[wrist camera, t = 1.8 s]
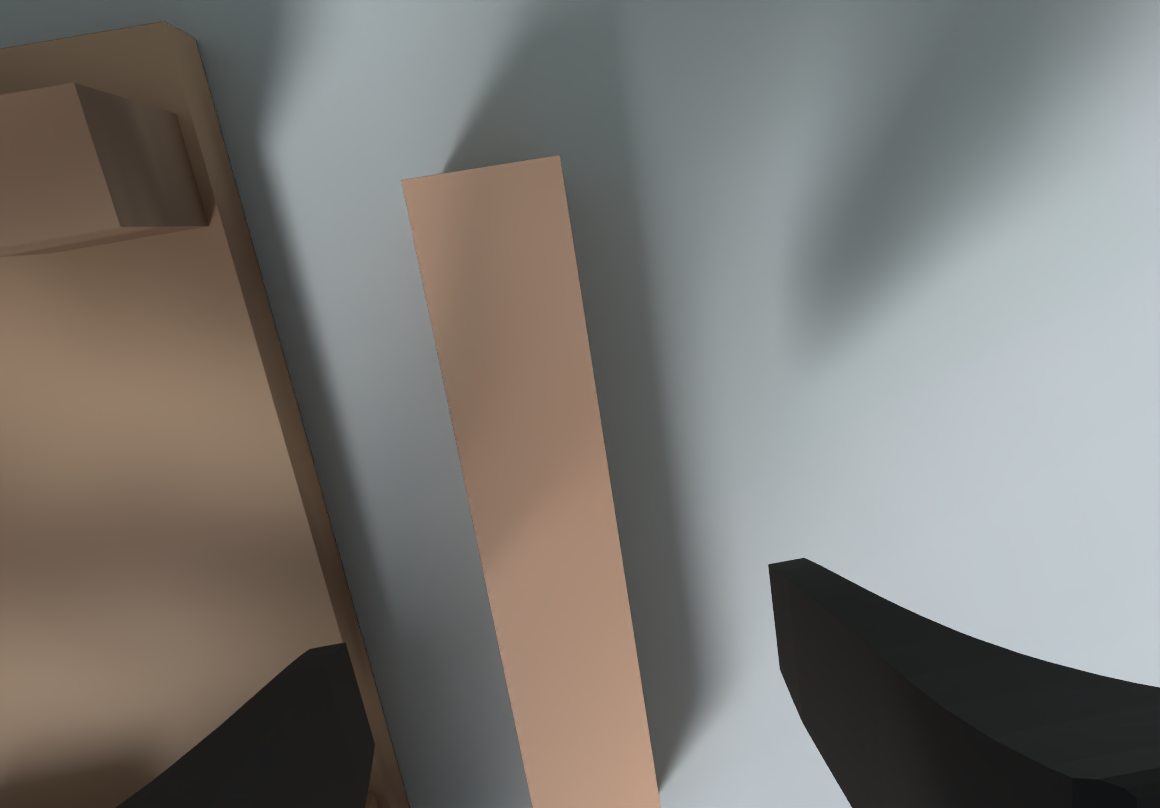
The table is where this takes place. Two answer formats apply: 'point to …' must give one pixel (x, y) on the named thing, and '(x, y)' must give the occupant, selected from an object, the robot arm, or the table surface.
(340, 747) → the robot arm
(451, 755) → the table surface
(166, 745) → the strip rack
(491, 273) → the clay strip
